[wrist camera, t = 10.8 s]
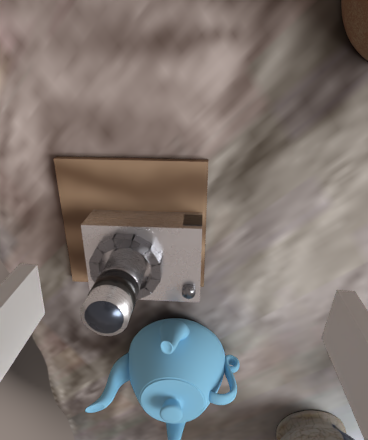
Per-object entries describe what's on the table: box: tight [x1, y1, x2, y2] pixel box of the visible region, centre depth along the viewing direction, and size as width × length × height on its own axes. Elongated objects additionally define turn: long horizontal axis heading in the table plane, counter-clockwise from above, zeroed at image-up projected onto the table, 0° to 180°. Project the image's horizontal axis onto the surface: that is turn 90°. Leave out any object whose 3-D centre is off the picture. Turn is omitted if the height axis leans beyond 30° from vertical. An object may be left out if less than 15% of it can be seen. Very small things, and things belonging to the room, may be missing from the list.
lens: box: [80, 248, 146, 336], centre depth 38 cm, size 5×5×10 cm
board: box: [54, 157, 208, 287], centre depth 47 cm, size 19×20×1 cm
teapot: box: [85, 318, 240, 440], centre depth 51 cm, size 17×19×12 cm
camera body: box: [81, 210, 203, 302], centre depth 44 cm, size 11×15×6 cm
